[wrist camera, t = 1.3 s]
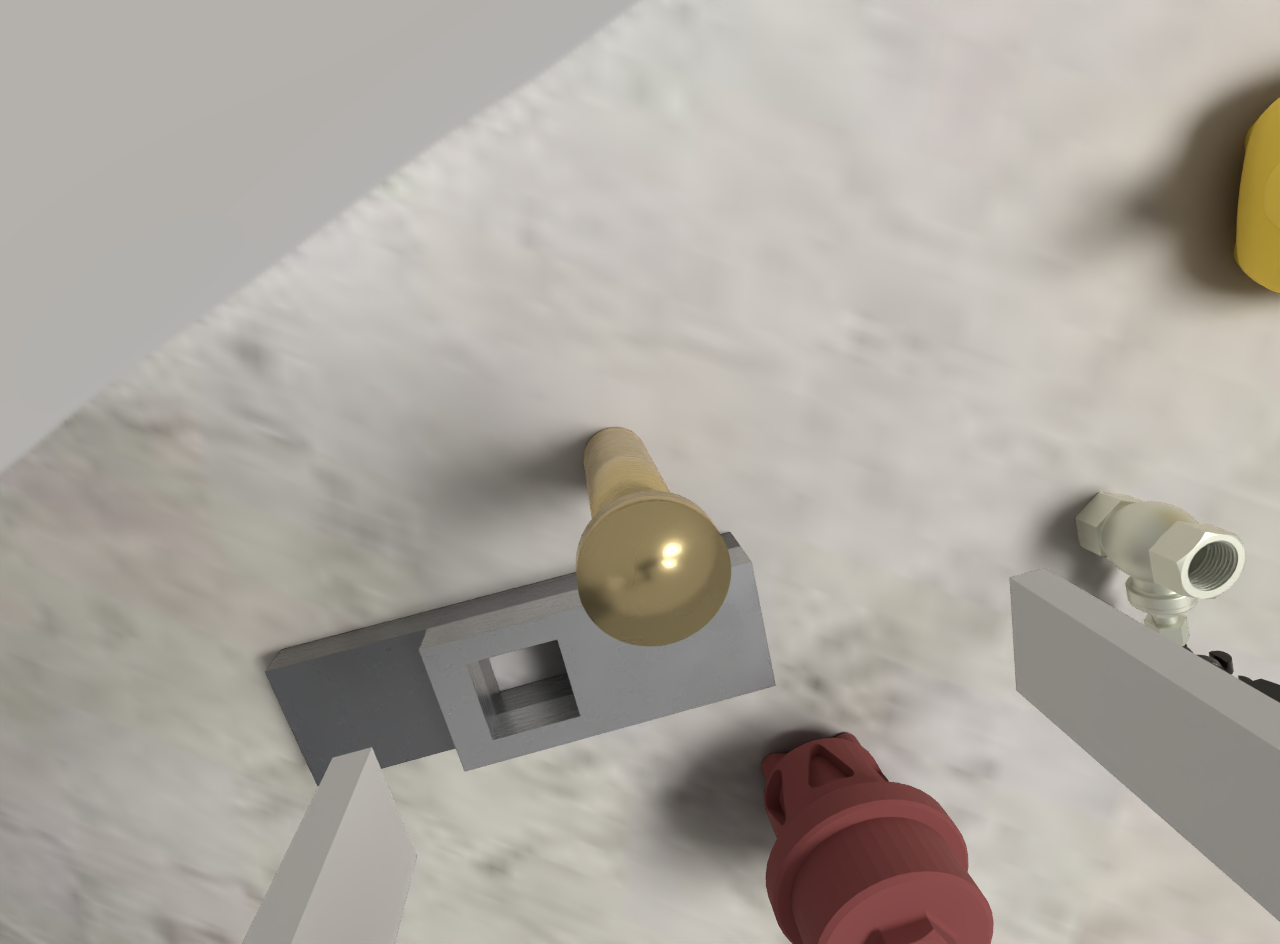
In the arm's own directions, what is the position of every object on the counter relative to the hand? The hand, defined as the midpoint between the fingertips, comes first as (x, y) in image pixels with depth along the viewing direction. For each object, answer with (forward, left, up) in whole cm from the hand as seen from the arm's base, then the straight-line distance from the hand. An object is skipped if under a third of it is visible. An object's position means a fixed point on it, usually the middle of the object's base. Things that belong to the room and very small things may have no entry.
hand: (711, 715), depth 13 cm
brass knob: (0, 0, -21) cm, 21 cm away
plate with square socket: (-7, -9, -21) cm, 24 cm away
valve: (+27, -15, -21) cm, 37 cm away
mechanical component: (+7, -22, -21) cm, 31 cm away
